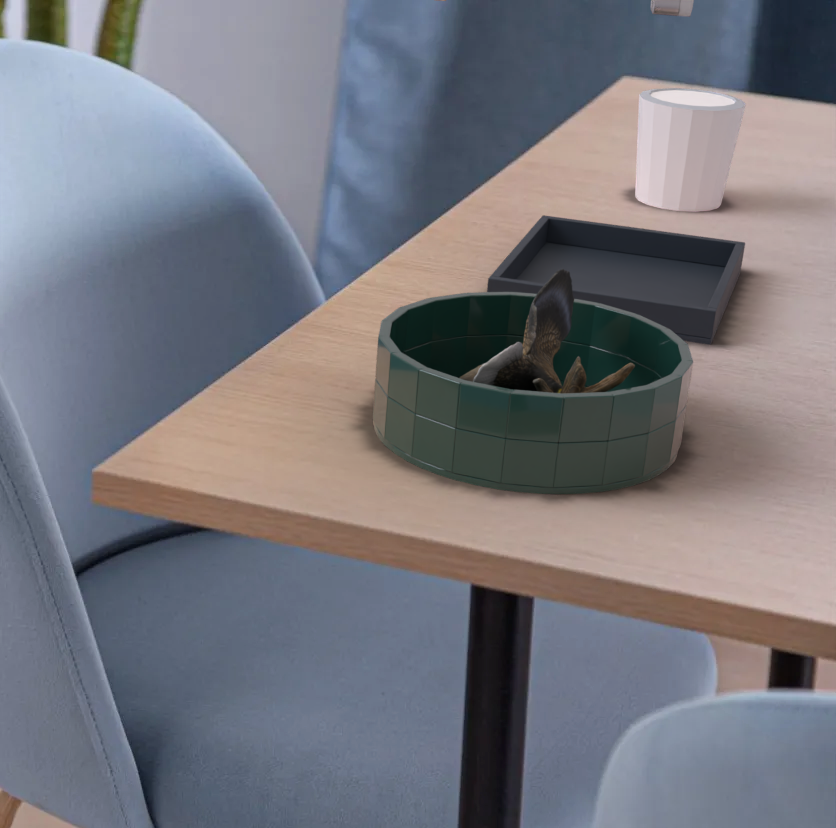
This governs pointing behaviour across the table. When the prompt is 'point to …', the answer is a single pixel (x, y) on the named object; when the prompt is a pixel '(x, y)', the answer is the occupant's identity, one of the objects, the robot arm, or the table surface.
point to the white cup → (685, 147)
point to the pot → (529, 397)
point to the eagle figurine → (543, 349)
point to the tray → (630, 271)
